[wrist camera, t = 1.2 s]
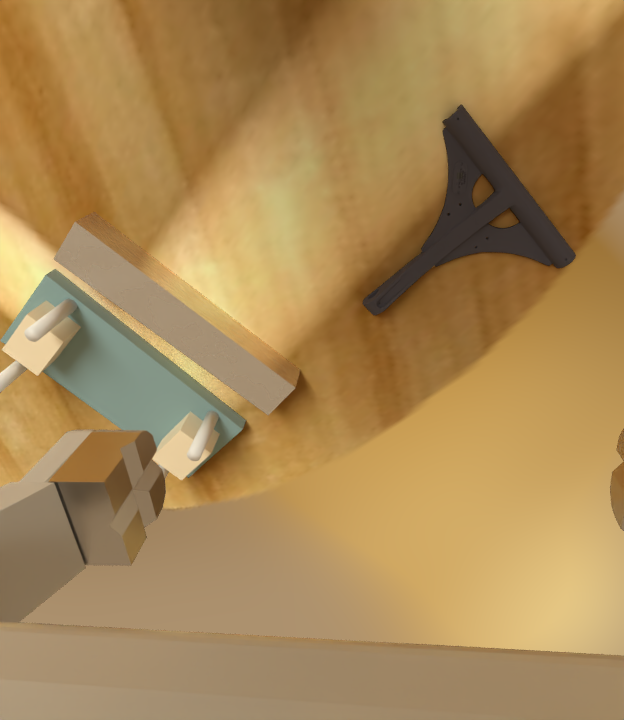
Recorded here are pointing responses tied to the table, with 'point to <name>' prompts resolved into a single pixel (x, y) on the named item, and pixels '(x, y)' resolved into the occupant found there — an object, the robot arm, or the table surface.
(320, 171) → the table surface
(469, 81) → the table surface
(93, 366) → the rack
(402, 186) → the table surface
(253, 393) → the long grey flat plank
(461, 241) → the bracket
